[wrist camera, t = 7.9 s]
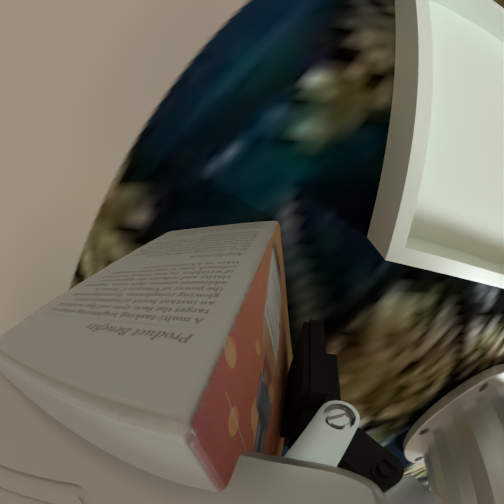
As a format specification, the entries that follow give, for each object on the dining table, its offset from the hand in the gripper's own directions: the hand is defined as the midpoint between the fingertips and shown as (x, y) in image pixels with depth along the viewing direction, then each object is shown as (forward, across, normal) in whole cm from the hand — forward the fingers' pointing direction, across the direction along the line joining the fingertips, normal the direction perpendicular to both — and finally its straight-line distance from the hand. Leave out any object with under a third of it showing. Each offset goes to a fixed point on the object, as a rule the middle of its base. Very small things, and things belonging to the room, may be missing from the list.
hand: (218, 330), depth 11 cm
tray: (+3, -12, -12) cm, 16 cm away
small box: (+3, 0, 0) cm, 3 cm away
